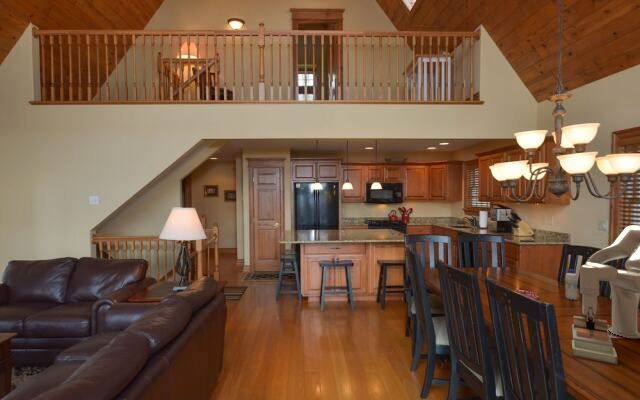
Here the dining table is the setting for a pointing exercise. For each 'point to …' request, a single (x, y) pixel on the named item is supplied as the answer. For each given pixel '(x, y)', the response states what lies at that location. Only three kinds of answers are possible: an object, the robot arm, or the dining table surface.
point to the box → (594, 351)
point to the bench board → (591, 338)
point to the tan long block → (581, 323)
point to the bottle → (571, 285)
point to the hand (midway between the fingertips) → (589, 326)
